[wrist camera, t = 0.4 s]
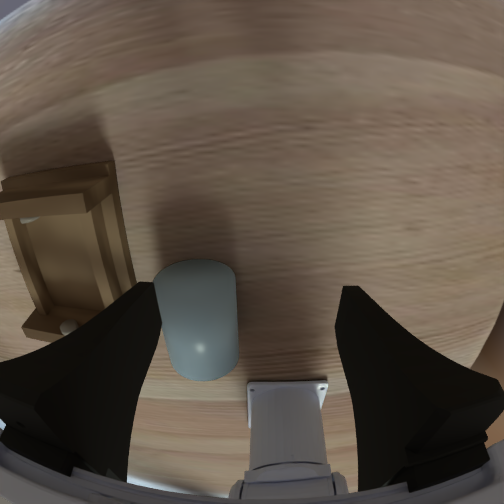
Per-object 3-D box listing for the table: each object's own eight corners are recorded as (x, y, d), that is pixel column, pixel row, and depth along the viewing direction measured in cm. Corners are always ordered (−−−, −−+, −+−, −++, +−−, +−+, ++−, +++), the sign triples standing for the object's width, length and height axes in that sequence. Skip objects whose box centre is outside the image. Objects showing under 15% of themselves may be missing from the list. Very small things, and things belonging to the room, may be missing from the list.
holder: (147, 324, 25) (131, 362, 21) (51, 313, 25) (30, 343, 21) (114, 160, 18) (80, 179, 14) (8, 177, 18) (-28, 197, 15)
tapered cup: (242, 333, 25) (235, 384, 20) (179, 328, 25) (162, 376, 21) (239, 260, 22) (229, 309, 17) (166, 257, 22) (140, 303, 17)
